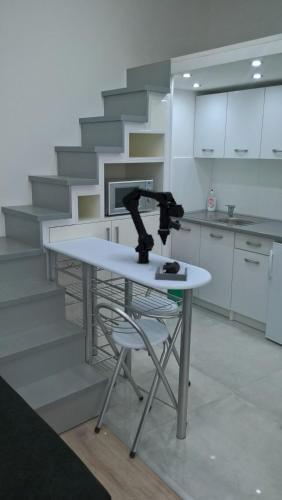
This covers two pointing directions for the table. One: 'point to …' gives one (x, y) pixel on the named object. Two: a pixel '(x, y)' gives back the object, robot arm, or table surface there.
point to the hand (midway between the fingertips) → (164, 245)
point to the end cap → (171, 267)
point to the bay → (170, 275)
